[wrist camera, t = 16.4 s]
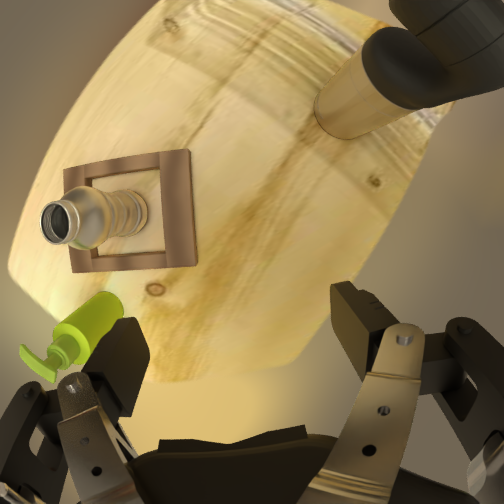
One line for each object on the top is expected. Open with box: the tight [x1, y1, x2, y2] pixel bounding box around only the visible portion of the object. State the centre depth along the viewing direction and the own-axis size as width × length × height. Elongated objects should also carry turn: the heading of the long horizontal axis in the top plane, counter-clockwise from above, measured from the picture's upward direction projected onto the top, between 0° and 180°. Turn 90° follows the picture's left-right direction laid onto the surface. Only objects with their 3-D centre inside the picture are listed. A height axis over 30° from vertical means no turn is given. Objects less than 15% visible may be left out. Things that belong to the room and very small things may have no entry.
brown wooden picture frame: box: [63, 149, 198, 273], centre depth 37 cm, size 20×16×2 cm
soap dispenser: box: [20, 292, 124, 384], centre depth 31 cm, size 6×7×20 cm
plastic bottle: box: [40, 186, 147, 250], centre depth 29 cm, size 6×7×20 cm
